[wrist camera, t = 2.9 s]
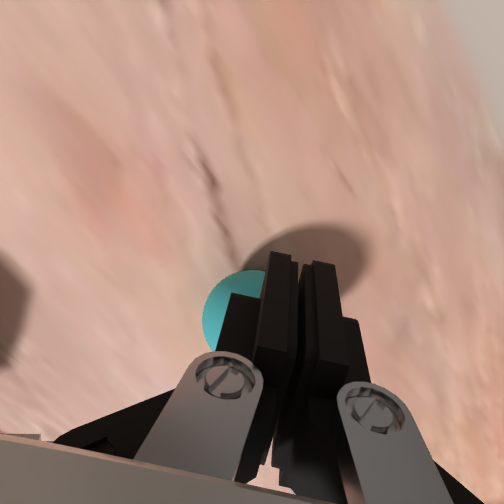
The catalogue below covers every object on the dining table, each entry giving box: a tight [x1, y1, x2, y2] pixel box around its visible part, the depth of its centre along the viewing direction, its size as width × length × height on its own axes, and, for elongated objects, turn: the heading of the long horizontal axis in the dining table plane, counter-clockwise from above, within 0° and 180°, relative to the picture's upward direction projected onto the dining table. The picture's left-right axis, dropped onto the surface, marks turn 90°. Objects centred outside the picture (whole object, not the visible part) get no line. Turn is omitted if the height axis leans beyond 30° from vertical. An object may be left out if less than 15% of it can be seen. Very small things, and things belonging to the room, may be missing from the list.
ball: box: [202, 270, 265, 351], centre depth 27 cm, size 6×6×6 cm
